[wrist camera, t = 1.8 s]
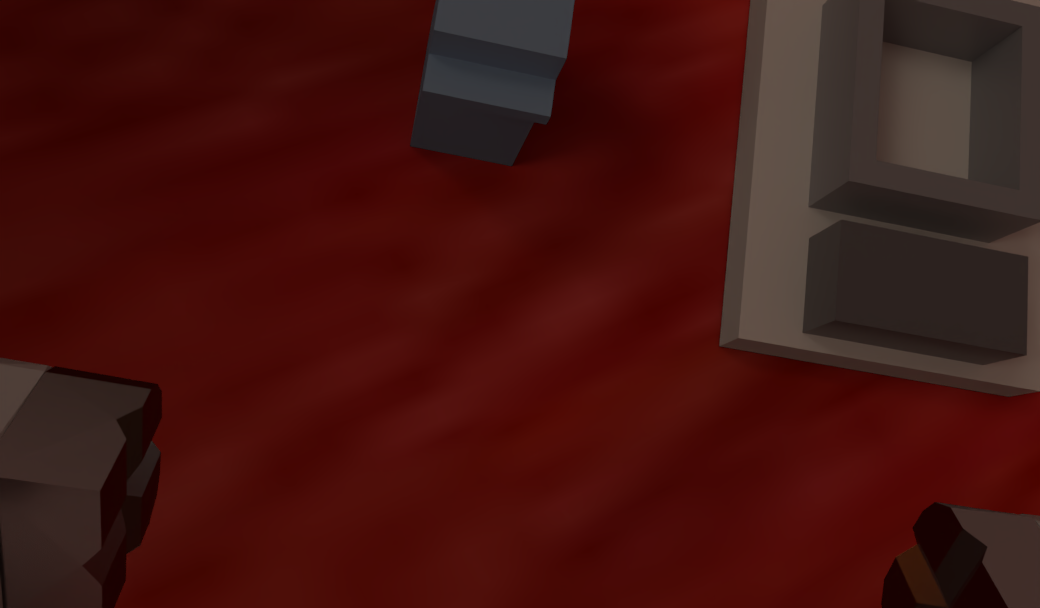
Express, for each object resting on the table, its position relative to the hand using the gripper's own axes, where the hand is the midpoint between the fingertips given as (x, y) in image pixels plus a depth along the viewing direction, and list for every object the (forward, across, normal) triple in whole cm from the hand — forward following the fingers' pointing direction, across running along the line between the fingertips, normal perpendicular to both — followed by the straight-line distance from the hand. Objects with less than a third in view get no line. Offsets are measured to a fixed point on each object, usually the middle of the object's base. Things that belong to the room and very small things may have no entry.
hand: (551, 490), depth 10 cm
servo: (+22, +1, +4) cm, 22 cm away
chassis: (+23, -13, +3) cm, 27 cm away
